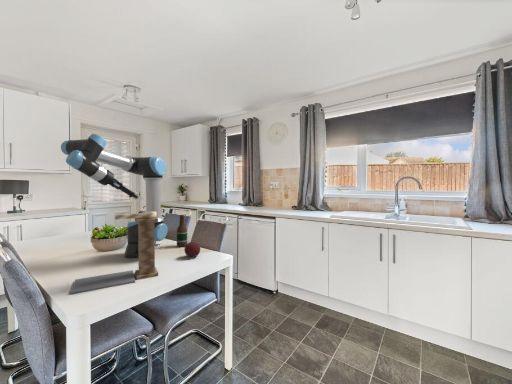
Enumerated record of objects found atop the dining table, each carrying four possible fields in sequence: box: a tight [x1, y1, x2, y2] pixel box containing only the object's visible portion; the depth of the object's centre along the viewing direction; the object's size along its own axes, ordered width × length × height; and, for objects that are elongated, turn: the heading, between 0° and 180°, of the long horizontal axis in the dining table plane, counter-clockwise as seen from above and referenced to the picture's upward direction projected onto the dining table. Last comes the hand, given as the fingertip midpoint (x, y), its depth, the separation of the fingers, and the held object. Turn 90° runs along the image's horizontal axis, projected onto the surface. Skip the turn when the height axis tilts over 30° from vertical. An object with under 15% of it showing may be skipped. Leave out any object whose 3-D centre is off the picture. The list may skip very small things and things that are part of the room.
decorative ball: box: [184, 241, 201, 258], centre depth 155 cm, size 10×10×10 cm
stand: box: [134, 218, 159, 280], centre depth 125 cm, size 10×10×30 cm
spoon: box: [114, 211, 156, 220], centre depth 121 cm, size 19×7×3 cm, turn 121°
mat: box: [70, 269, 136, 295], centre depth 116 cm, size 25×16×1 cm, turn 121°
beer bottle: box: [176, 214, 188, 248], centre depth 180 cm, size 8×8×24 cm
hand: (135, 196), depth 133 cm, fingers open, 13 cm apart
